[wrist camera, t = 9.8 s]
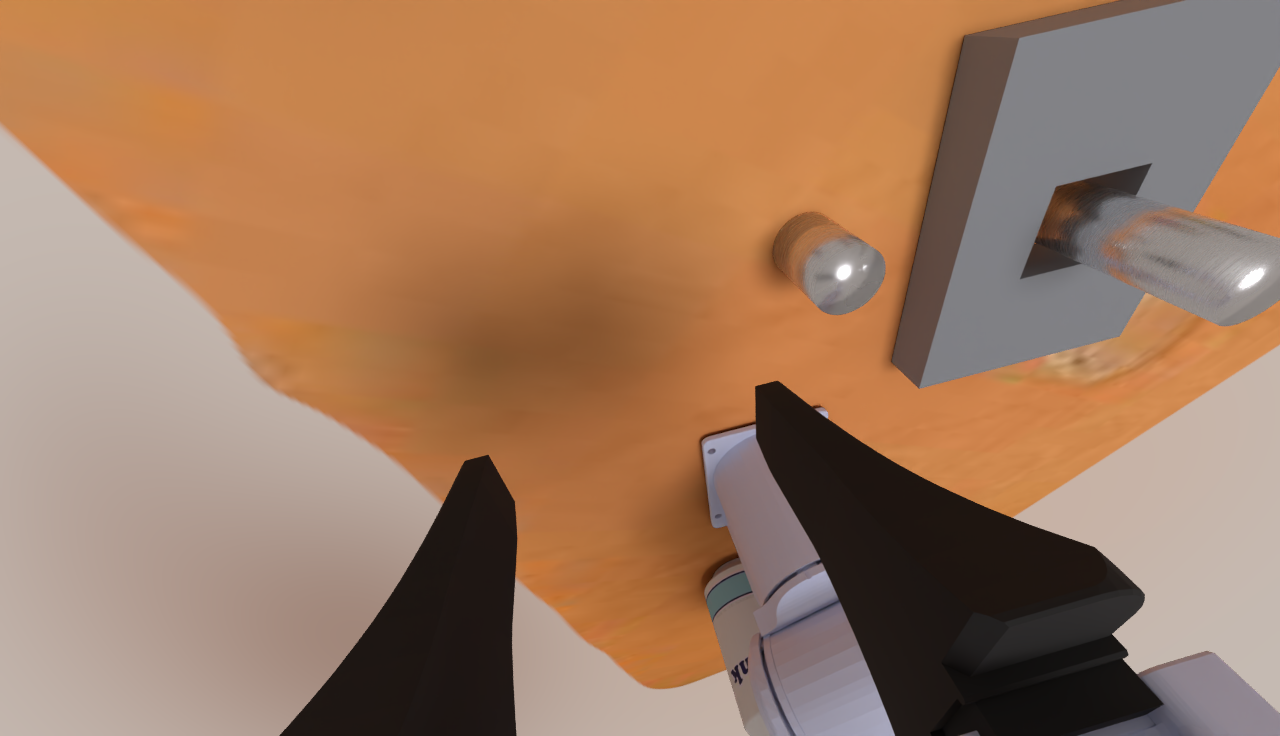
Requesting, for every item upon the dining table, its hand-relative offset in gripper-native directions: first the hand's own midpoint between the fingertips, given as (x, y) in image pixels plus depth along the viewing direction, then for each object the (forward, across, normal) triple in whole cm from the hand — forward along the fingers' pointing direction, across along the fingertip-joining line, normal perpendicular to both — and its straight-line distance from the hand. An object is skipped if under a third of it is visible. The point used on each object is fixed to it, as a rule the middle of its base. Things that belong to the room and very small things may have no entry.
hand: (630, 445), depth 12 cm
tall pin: (+10, -22, +2) cm, 24 cm away
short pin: (+10, -10, +1) cm, 14 cm away
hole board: (+10, -22, +2) cm, 24 cm away
